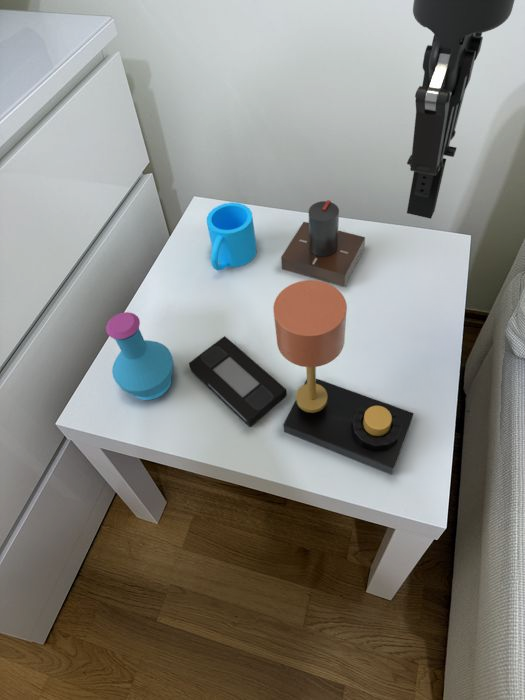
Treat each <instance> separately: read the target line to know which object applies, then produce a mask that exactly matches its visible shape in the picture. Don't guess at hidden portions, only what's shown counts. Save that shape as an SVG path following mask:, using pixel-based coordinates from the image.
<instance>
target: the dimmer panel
mask: <svg viewBox="0 0 525 700" xmlns="http://www.w3.org/2000/svg"><path fill="white" fill-rule="evenodd" d="M365 244H366V237H365V236H362V235H359V234H354V233H350V232H346V231H344V230H343V231H342V230H339V229H338V248H337V250H336V252H335V253H333V254H332V255H329V256H324V257H322V256H317V255H315V254H313V253H312V252H311V251H310V249H309V222H306V221H303V222H302V223H301V225H300V226H299V228H298V230H297V231H296V233H295V235H294V236H293V237H292V239H291V241H290V243H289V244H288V246H287V247H286V249H285V250H284V252H283V253H282V255H281V257H280V260H281V269H282V270H284V271H287V272H291V273H294V274H298V275H301V276H305V277H309V278H312V279H314V280H315V279H316V280H317V281H322V282H325V283H328V284H331V285H336V286H340V287H343V288H344V287H346V285H347V283H348V281H349V279H350V277H351V276H352V274H353V271H354V269H355V268H356V266H357V264H358V262H359V260H360V258H361V256H362V254H363V252H364V251H365Z"/></svg>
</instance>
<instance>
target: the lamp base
mask: <svg viewBox="0 0 525 700" xmlns="http://www.w3.org/2000/svg"><path fill="white" fill-rule="evenodd" d="M304 384H307V378H306V379H305V381H304V383H303V385H304ZM316 384H319V385H321V386H322V387H323V388H324V389H325V390H326V392H327V395H328V399H327V404H326V406H325V407H324V408H323V409H322V410H320V411H318V412H314V413H310V412H306V411H303V410H302V409H301V408H300V407H299V406H298V404H297V402H296V400H295V402H294V403H293V405H292V407H291V408H290V411H289V412H288V414H287V416H286V418H285V421H284V423H283V424H282V426H283V427H282V428H283V432H284V433H286V434H289V435H291V436H294V437H296V438H299V439H301V440H303V441H306V442H308V443H311V444H314V445H316V446H319V447H321V448H324V449H326V450H329V451H331V452H333V453H336V454H339V455H340V456H343V457H347V458H348V459H351V460H354V461H356V462H358V463H361V464H363V465H366V466H369V467H371V468H374V469H376V470H378V471H381V472H384V473H387V474H389V475H391V476H392V475H393V474H394V471H395V469H396V468H395V467H396V465H397V462H398V459H399V456H400V454H401V451H402V448H403V445H404V443H405V440H406V437H407V435H408V432H409V429H410V426H411V424H412V421H413V417H414V414H415V413H414V412H412V411H409V410H406V409H403V408H402V407H401V408H400V407H397V406H395V405H392V404H389V403H386V402H384V401H381V400H378V399H375V398H373V397H369V396H367V395H364V394H361V393H359V392H356V391H353V390H349V389H347V388H344V387H341V386H339V385H336V384H333V383H330V382H328V381H325V380H322V379H319V378H316ZM372 406H382V407H384V408H386V409H387V410H388V411H389V412H390V413H391V416H392V422H391V426H390V429H389V431H388V432H387V433H386V434H385V435H382V436H373V435H371V434H369V433H368V432H367V431H366V430H365V429H364V426H363V420H364V414H365V412H366V410H367V409H368V408H370V407H372Z"/></svg>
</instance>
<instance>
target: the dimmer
mask: <svg viewBox="0 0 525 700" xmlns="http://www.w3.org/2000/svg"><path fill="white" fill-rule="evenodd" d="M339 218H340V209H339V207H338V205H337V204H335V203H333V202H332V201H331V200H329V199H327V200H322V201H317V202H314V203H313V204H311V206H310V207H309V209H308V223H309V249H310V251H311V252H312V253H313V254H315V255H317V256H322V257H324V256H329V255H332V254H333V253H335V252H336V250H337V248H338V230H339V221H340V219H339Z"/></svg>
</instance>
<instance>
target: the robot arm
mask: <svg viewBox="0 0 525 700" xmlns="http://www.w3.org/2000/svg"><path fill="white" fill-rule="evenodd" d="M514 3H515V0H413V4H412V14H413V17H414V19H415V21H416V22H417V23H418V24H419V25H420V26H421V27H423V28H427V29H428V30H429V31H431V32H432V34H433V38H432V43H431V45H430V44H428V45H427V46H426V47H425V51H424V54H423V61H422V70H423V73H424V74H423V79H422V85H419V87H418V88H417V89H416V92H415V93H414V94H415V95H414V98H415V119H414V129H413V140H412V148H411V149H412V150H411V154H410V156H409V158H408V160H407V162H406V164H407V165H408V166H409V167H410V168H409V170H410V172H413V175H412V180H411V186H410V192H409V197H408V205H407V209H406V214H408V215H413V216H417V217H421V218H426V219H430V220H431V219H432V217H433V215H434V213H435V211H436V207H437V202H438V197H439V193H440V189H441V185H442V181H443V180H442V179H443V175H444V172H445V167H446V163H447V162H446V161H447V158H444V156H445V157H452V158H454V157H455V155H456V151H457V148H458V147H456V146H451V145H450V143H451V141H452V140H453V139H454V138H455V136H456V128H457V125H458V120H459V116H460V113H461V108H462V105H463V101H464V97H465V93H466V90H467V88H468V85H469V83H470V80H471V77H472V73H473V70H474V65H475V61H476V60H477V58H478V55H479V54H480V51H481V49H482V48H481V47H482V43H483V40H484V38H483V37H484V36H483V33H486V32H489V31H492V30H494V29H496V28H498V27H500V26H502V25H503V24H504V23H505V22H506V21H507V20H508V19H509V18H510V16H511V14H512V12H513V7H514Z"/></svg>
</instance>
